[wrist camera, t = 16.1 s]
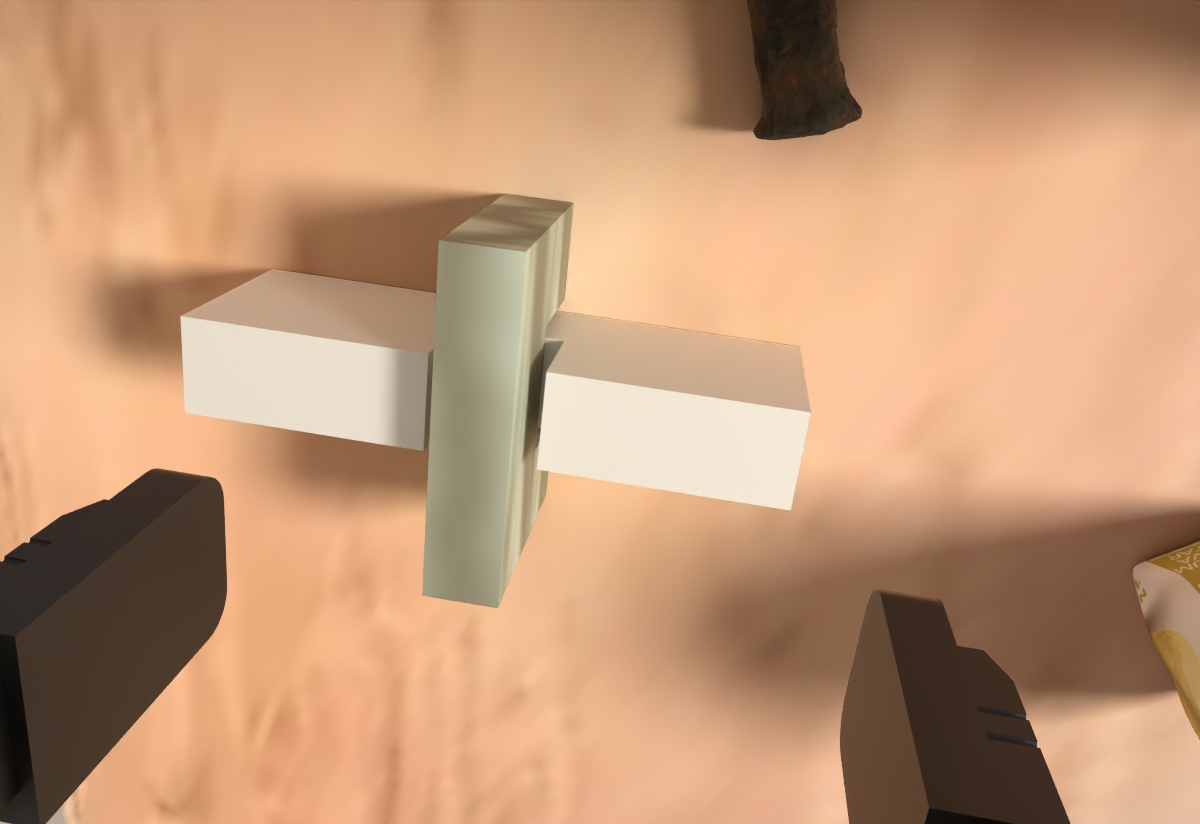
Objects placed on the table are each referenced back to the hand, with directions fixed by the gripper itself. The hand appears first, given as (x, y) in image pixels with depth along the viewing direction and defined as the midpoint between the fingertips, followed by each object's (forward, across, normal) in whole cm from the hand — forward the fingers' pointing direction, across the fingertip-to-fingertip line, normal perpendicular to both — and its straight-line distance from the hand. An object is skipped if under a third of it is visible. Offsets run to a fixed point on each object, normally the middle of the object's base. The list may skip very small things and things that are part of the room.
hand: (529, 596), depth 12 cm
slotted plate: (+32, +6, +8) cm, 34 cm away
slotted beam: (+32, +6, +8) cm, 34 cm away
